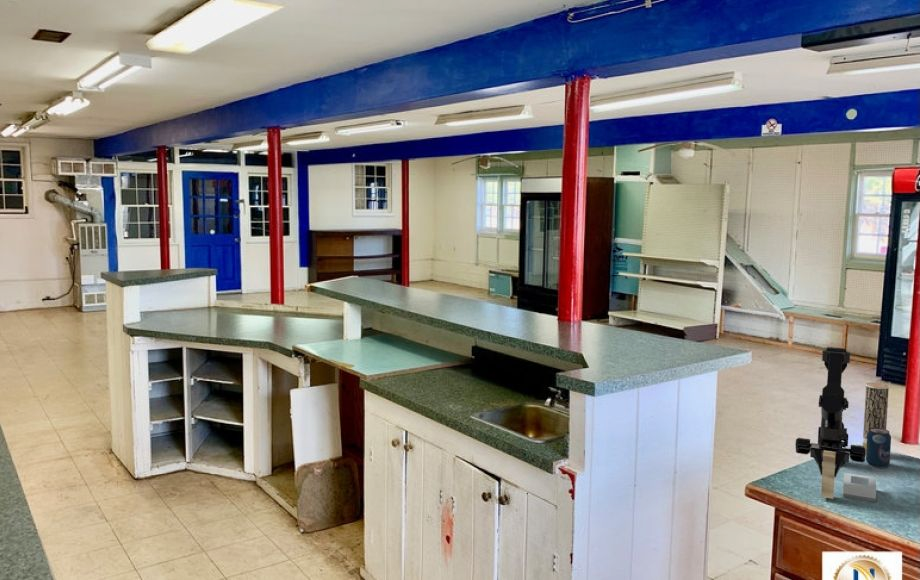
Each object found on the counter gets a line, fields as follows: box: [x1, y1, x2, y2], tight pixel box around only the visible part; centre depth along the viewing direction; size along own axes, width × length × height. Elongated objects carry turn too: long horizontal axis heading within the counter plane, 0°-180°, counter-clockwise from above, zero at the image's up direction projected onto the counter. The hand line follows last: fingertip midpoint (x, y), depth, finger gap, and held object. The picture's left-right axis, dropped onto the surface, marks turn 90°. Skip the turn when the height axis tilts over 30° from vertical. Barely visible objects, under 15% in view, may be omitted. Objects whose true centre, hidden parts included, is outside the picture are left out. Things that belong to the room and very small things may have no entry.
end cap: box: [842, 472, 877, 503], centre depth 213 cm, size 10×8×4 cm
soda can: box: [865, 428, 892, 469], centre depth 235 cm, size 7×7×12 cm
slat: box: [820, 450, 836, 500], centre depth 209 cm, size 4×3×13 cm
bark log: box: [862, 382, 889, 455], centre depth 244 cm, size 7×7×25 cm
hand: (828, 475), depth 208 cm, fingers closed on slat, 3 cm apart
